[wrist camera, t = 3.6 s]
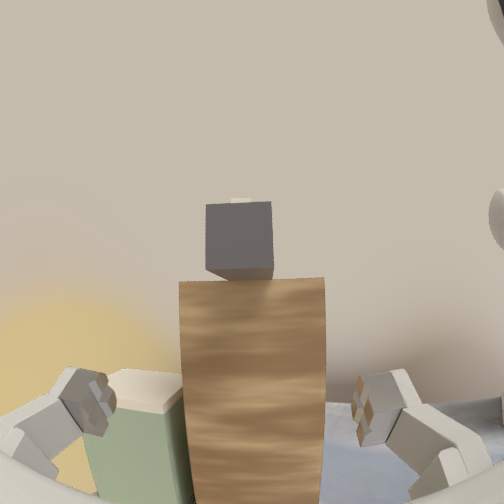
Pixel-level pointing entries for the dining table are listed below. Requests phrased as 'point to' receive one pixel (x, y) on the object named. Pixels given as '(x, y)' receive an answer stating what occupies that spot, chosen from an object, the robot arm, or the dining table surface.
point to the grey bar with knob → (240, 240)
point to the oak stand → (254, 388)
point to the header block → (143, 442)
